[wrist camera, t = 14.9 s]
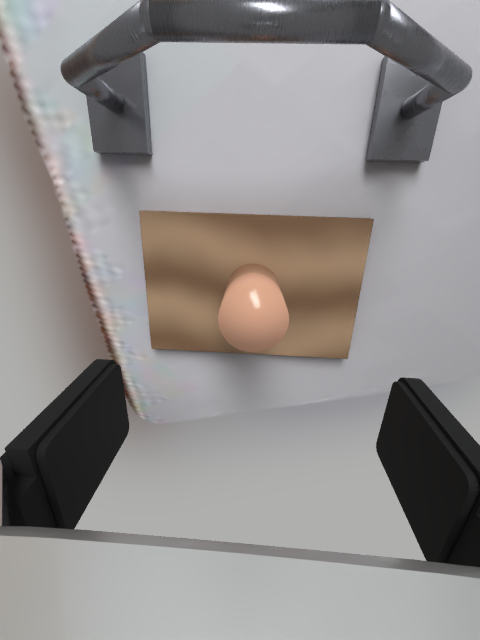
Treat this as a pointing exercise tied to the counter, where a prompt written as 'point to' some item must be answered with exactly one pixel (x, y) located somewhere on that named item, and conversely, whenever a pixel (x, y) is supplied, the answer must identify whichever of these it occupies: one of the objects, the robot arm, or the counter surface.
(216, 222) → the walnut board
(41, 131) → the counter surface
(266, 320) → the peach domed cylinder
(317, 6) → the grey cabinet handle
